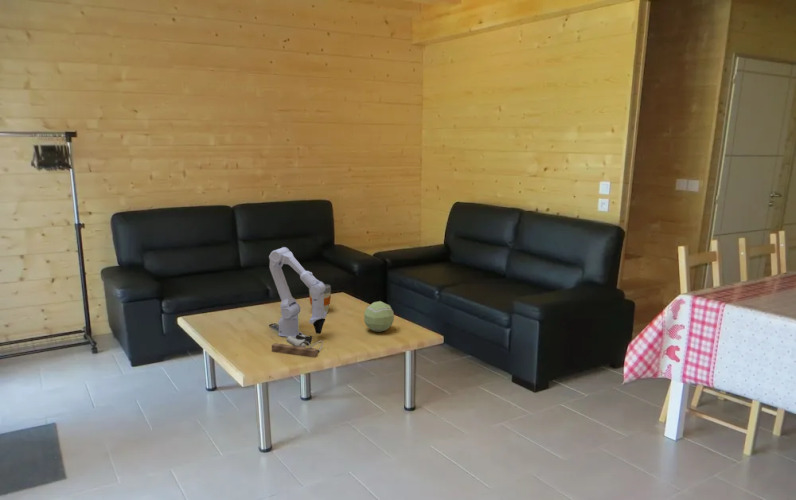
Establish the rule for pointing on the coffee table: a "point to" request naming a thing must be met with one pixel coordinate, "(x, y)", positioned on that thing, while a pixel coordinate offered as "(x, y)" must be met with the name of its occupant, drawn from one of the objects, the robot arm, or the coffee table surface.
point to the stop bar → (294, 350)
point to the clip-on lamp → (301, 340)
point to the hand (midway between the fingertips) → (318, 333)
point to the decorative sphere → (378, 316)
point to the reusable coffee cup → (326, 297)
